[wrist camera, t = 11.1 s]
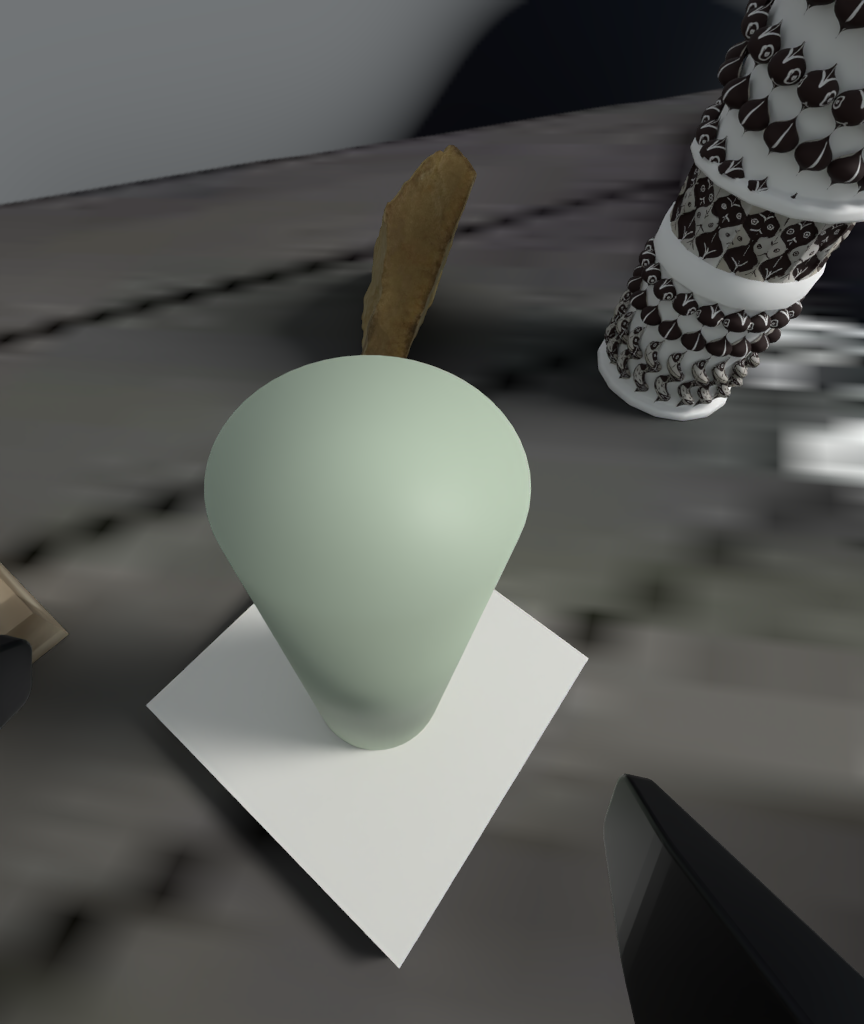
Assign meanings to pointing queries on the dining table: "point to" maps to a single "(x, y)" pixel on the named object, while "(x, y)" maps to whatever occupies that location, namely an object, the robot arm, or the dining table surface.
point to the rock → (414, 251)
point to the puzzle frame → (26, 617)
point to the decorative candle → (747, 212)
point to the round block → (369, 529)
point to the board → (373, 762)
